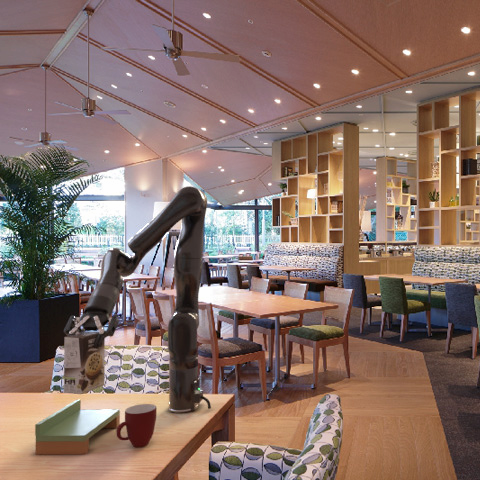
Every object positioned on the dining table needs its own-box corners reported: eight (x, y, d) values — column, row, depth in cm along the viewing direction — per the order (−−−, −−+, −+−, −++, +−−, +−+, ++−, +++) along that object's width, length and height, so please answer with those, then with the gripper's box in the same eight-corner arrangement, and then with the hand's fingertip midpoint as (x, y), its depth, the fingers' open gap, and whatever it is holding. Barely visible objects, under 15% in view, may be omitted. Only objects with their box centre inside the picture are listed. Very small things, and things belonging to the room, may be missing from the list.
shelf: (119, 425, 150) (119, 399, 150) (84, 454, 130) (85, 424, 130) (76, 425, 150) (76, 399, 150) (35, 454, 130) (35, 424, 130)
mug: (127, 456, 129) (127, 418, 129) (110, 449, 133) (110, 412, 133) (162, 442, 138) (162, 407, 138) (145, 436, 142) (145, 402, 142)
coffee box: (82, 394, 137) (82, 337, 137) (63, 393, 138) (62, 336, 138) (105, 385, 146) (105, 331, 146) (87, 383, 147) (87, 330, 147)
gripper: (74, 294, 149) (51, 340, 138) (121, 294, 150) (102, 340, 138) (83, 309, 155) (62, 354, 143) (129, 309, 155) (111, 354, 143)
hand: (82, 347), depth 141 cm, fingers closed on coffee box, 7 cm apart
